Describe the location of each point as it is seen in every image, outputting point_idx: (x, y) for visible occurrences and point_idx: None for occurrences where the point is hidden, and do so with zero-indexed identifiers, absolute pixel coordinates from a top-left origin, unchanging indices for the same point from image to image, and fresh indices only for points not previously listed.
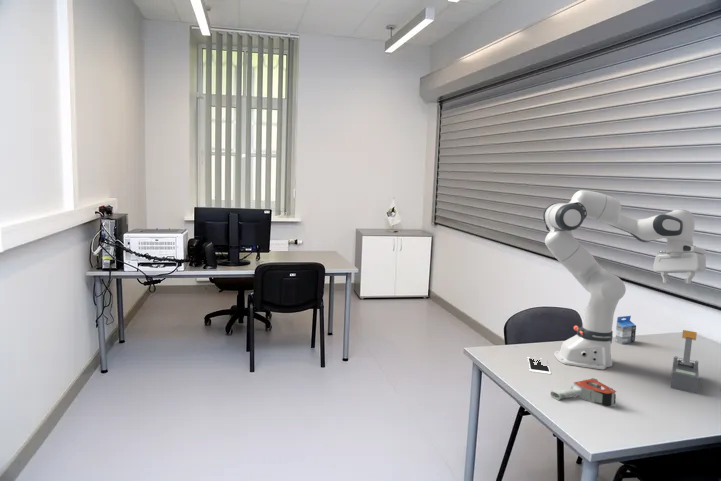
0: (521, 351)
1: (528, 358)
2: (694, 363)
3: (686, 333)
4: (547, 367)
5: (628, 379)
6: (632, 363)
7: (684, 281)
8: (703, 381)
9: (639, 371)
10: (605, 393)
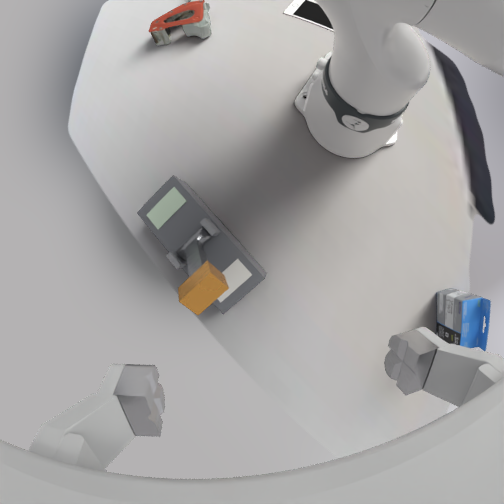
0: None
1: None
2: None
3: (200, 274)
4: (312, 20)
5: (238, 121)
6: (325, 207)
7: (150, 370)
8: None
9: (276, 182)
10: (154, 20)
